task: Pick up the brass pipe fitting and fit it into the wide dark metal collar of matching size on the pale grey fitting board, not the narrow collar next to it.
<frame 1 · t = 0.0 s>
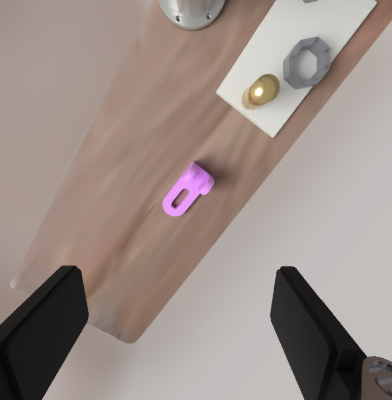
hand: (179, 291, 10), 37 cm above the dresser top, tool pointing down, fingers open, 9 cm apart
brass pipe fitting: (251, 99, 40), point 1 cm above the dresser top, touching fitting board
fitting board: (290, 51, 39), on the dresser top
bracket: (185, 190, 47), on the dresser top
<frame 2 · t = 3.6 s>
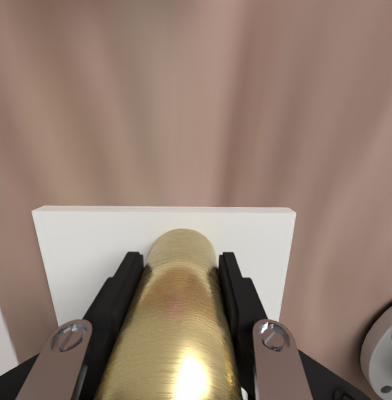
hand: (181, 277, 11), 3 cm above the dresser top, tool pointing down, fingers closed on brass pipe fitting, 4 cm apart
brass pipe fitting: (183, 258, 12), point 1 cm above the dresser top, touching fitting board, gripper
fitting board: (172, 369, 16), on the dresser top
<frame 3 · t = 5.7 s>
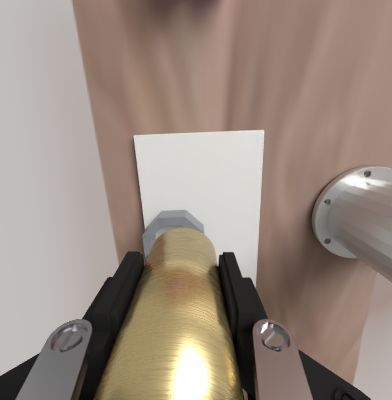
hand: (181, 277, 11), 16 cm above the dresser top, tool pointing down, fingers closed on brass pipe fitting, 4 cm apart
brass pipe fitting: (183, 257, 12), point 15 cm above the dresser top, touching gripper
fitting board: (202, 238, 28), on the dresser top
when the fingers open (4 cm above the dresser top, at t = 8.0 s): brass pipe fitting drops 2 cm, resting on fitting board.
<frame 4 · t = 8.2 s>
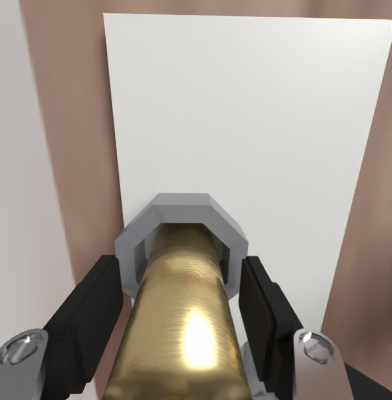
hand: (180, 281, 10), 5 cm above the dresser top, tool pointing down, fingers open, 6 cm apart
brass pipe fitting: (184, 244, 14), point 1 cm above the dresser top, touching fitting board
fitting board: (231, 250, 15), on the dresser top
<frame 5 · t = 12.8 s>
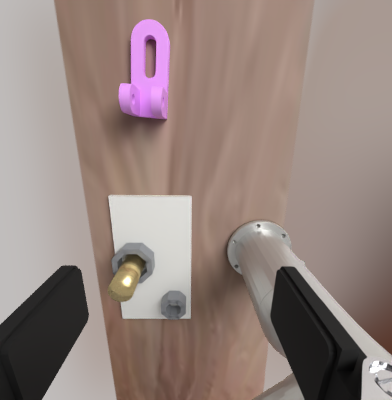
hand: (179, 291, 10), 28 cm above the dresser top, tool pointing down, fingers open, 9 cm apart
brass pipe fitting: (136, 259, 40), point 1 cm above the dresser top, touching fitting board
fitting board: (154, 260, 42), on the dresser top
bracket: (151, 74, 32), on the dresser top
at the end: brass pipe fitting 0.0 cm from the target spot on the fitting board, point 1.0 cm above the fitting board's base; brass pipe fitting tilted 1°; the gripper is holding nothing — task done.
